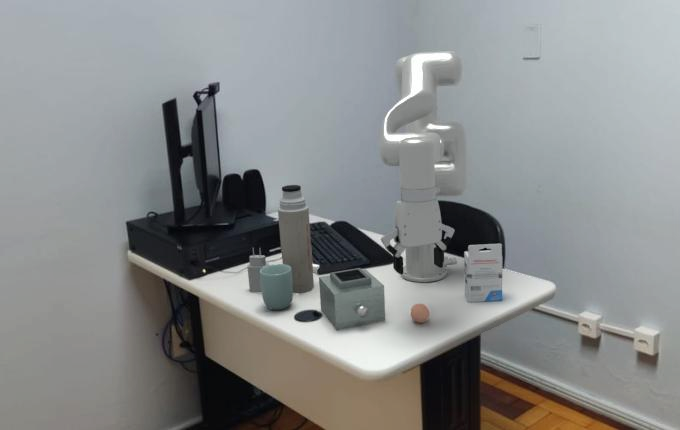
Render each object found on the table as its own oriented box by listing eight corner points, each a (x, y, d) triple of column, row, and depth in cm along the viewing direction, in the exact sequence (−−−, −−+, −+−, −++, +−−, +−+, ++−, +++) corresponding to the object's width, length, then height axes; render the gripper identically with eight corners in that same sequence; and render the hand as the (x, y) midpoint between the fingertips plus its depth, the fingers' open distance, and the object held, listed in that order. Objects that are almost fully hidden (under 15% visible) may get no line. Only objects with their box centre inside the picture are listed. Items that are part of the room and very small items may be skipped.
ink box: (497, 293, 156) (498, 237, 152) (502, 301, 151) (503, 243, 148) (463, 294, 156) (463, 239, 152) (467, 302, 152) (467, 245, 148)
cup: (281, 315, 150) (278, 276, 148) (256, 309, 154) (253, 272, 152) (300, 303, 156) (297, 266, 154) (275, 298, 161) (272, 262, 158)
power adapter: (252, 287, 169) (248, 245, 166) (271, 288, 168) (268, 245, 165) (249, 292, 166) (244, 249, 163) (268, 292, 165) (264, 249, 162)
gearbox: (366, 302, 155) (365, 263, 152) (388, 324, 142) (387, 282, 140) (321, 310, 152) (318, 271, 149) (339, 334, 139) (336, 291, 136)
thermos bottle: (317, 282, 170) (310, 182, 162) (309, 293, 162) (302, 189, 155) (289, 281, 171) (281, 183, 164) (280, 292, 164) (272, 189, 157)
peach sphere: (424, 316, 145) (424, 299, 144) (433, 324, 141) (432, 306, 140) (407, 320, 144) (406, 302, 143) (415, 327, 140) (415, 309, 139)
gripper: (445, 187, 140) (445, 259, 144) (373, 195, 135) (376, 270, 139) (461, 193, 133) (461, 268, 138) (387, 202, 128) (389, 280, 132)
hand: (418, 269), depth 138 cm, fingers open, 9 cm apart
